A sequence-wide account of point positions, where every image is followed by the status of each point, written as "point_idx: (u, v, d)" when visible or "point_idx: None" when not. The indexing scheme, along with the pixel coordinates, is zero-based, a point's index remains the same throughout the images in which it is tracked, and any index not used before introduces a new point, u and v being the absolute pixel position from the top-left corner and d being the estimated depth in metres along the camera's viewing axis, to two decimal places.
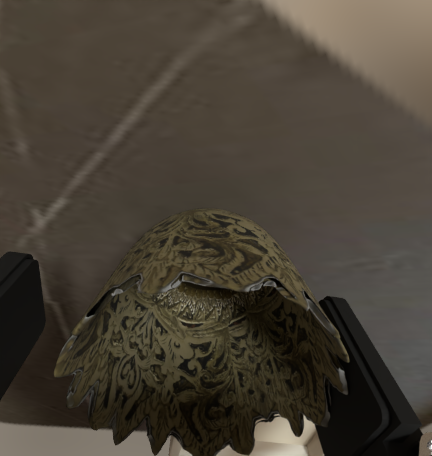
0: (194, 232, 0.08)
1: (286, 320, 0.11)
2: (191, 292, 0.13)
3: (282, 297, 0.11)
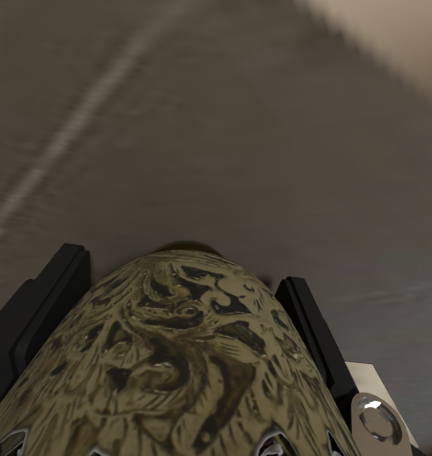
0: (145, 314, 0.05)
1: None
2: None
3: None
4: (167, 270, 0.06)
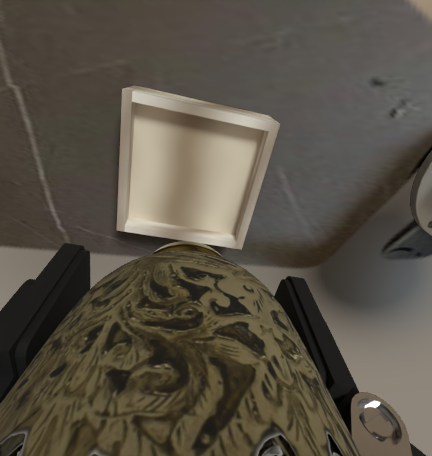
0: (145, 315, 0.05)
1: None
2: None
3: None
4: (167, 271, 0.06)
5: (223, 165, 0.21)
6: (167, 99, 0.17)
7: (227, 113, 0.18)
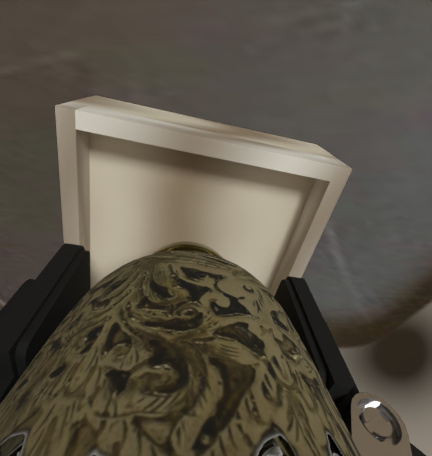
0: (145, 315, 0.05)
1: None
2: None
3: None
4: (166, 271, 0.06)
5: (242, 228, 0.13)
6: (144, 125, 0.09)
7: (257, 150, 0.10)
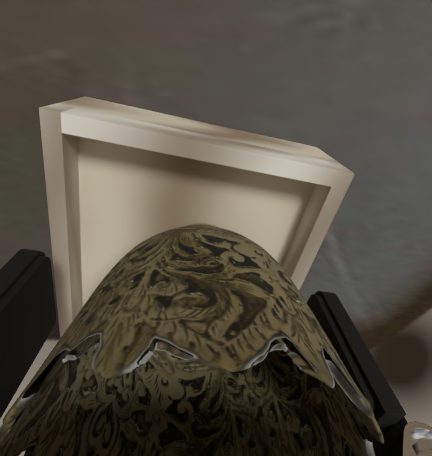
0: (178, 264, 0.06)
1: None
2: None
3: None
4: (191, 237, 0.07)
5: None
6: (134, 128, 0.09)
7: (254, 155, 0.09)
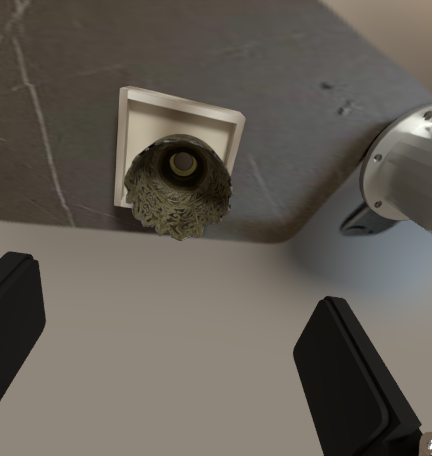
0: (174, 135, 0.19)
1: (219, 188, 0.23)
2: (174, 187, 0.25)
3: (218, 180, 0.23)
4: None
5: None
6: (155, 97, 0.22)
7: (203, 109, 0.23)
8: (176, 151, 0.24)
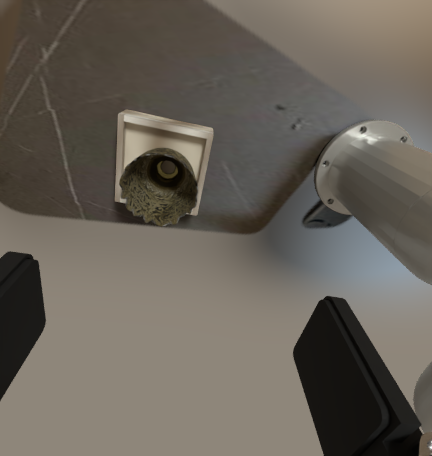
0: (156, 149, 0.27)
1: (192, 188, 0.30)
2: (161, 187, 0.32)
3: (192, 182, 0.30)
4: None
5: None
6: (144, 120, 0.29)
7: (181, 128, 0.30)
8: (161, 160, 0.31)
